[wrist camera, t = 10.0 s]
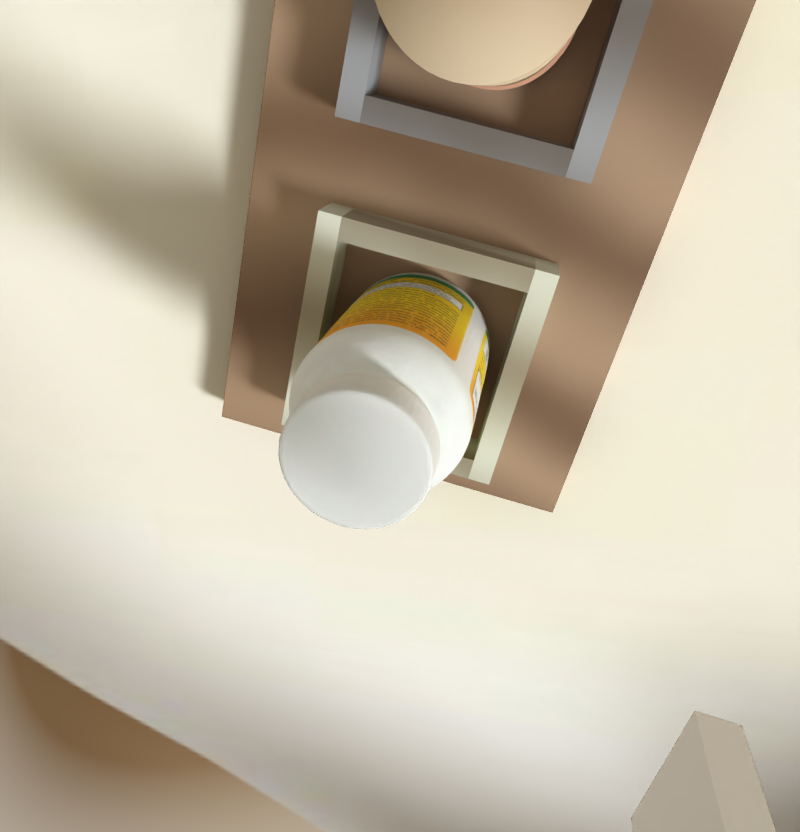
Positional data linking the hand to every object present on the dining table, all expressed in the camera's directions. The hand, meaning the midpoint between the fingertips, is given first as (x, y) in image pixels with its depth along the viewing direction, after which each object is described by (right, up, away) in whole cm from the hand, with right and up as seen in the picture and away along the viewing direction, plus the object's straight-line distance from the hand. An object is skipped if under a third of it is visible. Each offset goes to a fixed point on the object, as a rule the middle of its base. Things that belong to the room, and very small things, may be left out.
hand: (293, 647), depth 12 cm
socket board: (+4, +12, +13) cm, 18 cm away
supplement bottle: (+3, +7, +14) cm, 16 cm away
